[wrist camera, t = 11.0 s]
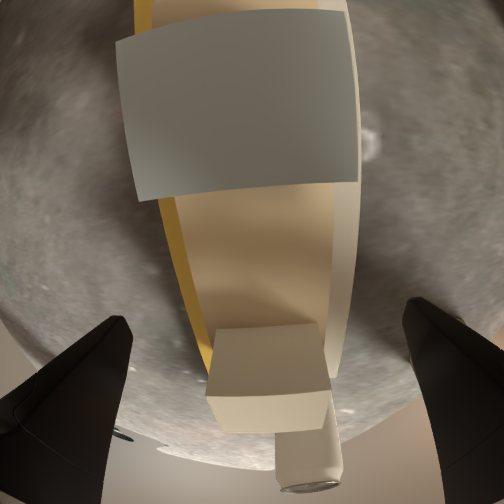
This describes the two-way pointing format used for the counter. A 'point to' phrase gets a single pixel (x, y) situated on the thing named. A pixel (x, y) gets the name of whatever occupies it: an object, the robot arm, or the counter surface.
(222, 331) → the cream block
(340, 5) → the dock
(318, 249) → the tan wooden block
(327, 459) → the can
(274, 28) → the light grey block
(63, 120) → the counter surface
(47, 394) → the robot arm
